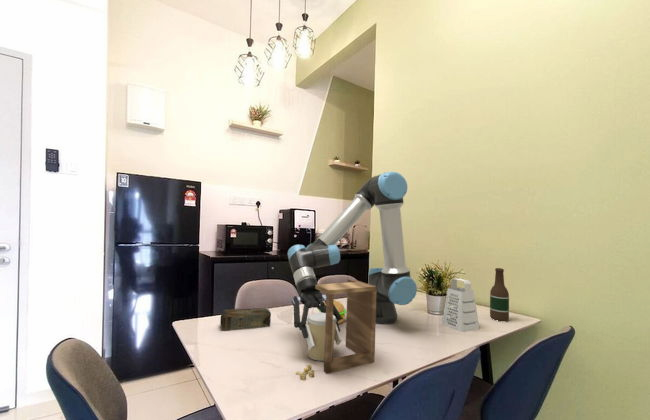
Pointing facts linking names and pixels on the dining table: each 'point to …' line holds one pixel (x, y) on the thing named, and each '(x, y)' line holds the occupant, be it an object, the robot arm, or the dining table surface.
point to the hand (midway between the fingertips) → (325, 345)
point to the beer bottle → (499, 298)
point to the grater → (460, 307)
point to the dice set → (306, 372)
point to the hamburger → (339, 310)
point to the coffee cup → (319, 335)
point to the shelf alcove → (351, 324)
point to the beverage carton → (245, 318)
